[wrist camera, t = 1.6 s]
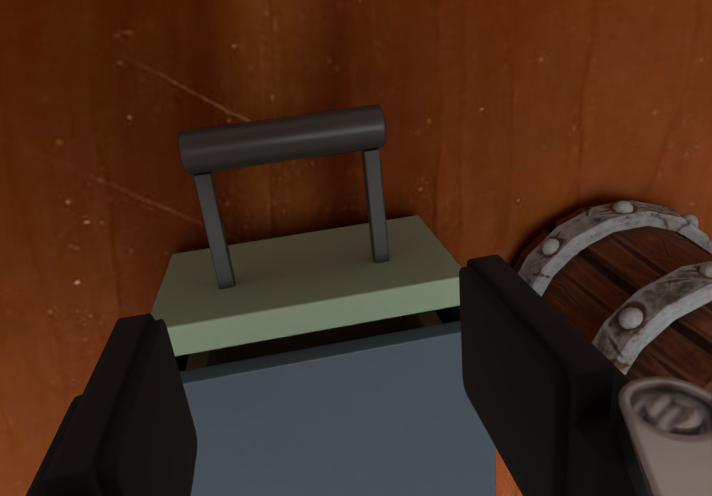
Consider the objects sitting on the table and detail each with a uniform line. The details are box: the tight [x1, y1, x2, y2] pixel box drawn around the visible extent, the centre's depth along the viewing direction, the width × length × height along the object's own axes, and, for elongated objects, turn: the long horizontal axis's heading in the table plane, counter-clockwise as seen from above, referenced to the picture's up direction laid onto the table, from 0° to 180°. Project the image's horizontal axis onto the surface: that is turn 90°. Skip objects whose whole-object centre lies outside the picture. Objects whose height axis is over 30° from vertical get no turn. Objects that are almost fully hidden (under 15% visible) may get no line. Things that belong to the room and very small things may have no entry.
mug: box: [513, 200, 712, 392], centre depth 24 cm, size 12×14×15 cm
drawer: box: [150, 105, 462, 371], centre depth 24 cm, size 19×11×7 cm, turn 6°
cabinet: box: [175, 306, 496, 496], centre depth 26 cm, size 15×13×9 cm
